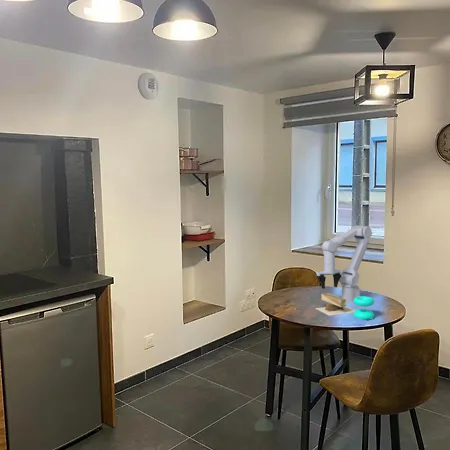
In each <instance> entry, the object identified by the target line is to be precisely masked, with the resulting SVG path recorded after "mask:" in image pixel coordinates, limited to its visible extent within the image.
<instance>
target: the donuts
mask: <svg viewBox="0 0 450 450" xmlns="http://www.w3.org/2000/svg"><path fill="white" fill-rule="evenodd" d="M353 301H354V302H353V303H354V304H355V305H356V306H358V307H364V308H365V307H372V306H373V305H374V304H375V299H374V298H372V297H370V296H366V295H365V296H364V295H363V296H362V295H360V296H359V297H355V298H354V300H353ZM364 308H363V309H362V308H360V309H355V310H356V311H355V312H353V313H352V315H353V317H354V318H356V319H357V320H358V319H359V320H362V321H369V320H372V319H374V318H375V312H373V311H372V310H370V309H364Z"/></svg>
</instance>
